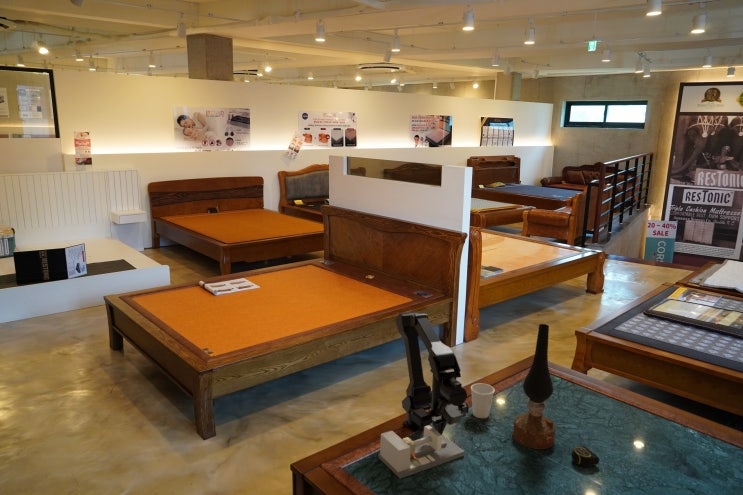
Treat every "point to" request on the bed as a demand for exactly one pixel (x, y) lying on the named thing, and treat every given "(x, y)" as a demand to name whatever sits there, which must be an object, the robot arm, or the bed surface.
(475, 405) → the dixie cup
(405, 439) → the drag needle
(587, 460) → the tape measure
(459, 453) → the base
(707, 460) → the bed surface
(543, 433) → the oil lamp
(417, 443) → the plunger
